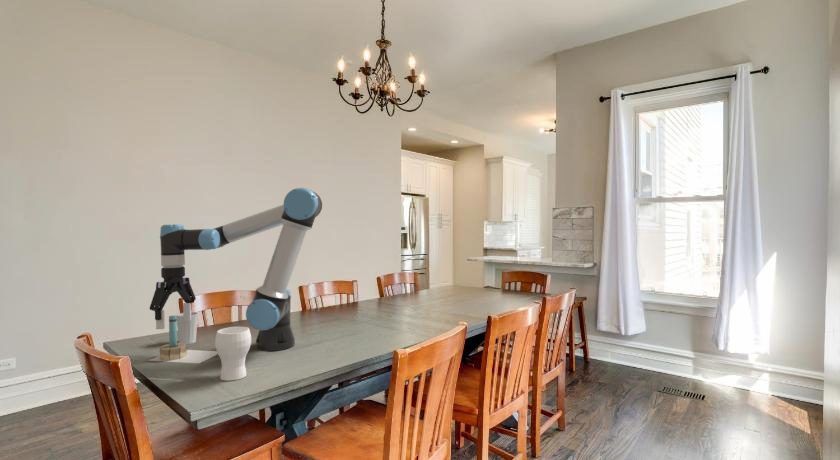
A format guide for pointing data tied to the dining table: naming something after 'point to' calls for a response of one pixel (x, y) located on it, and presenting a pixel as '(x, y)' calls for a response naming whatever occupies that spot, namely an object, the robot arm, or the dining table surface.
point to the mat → (192, 357)
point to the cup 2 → (233, 351)
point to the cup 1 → (187, 328)
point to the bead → (173, 352)
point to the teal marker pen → (173, 331)
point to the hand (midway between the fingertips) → (174, 324)
